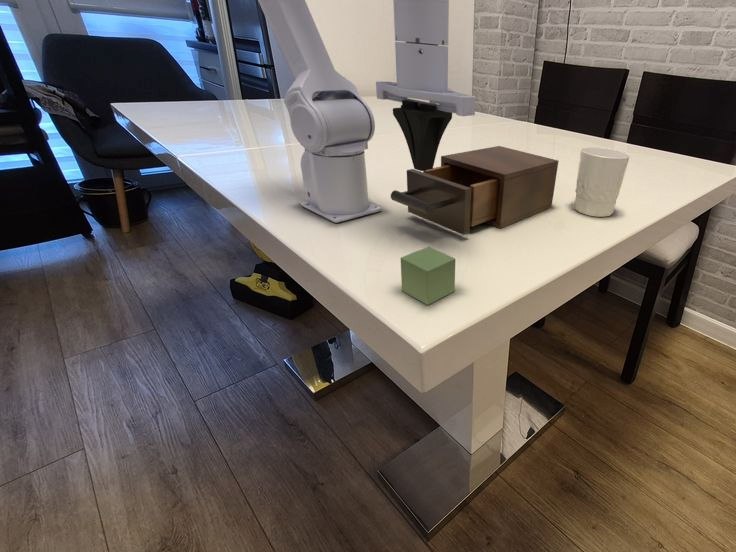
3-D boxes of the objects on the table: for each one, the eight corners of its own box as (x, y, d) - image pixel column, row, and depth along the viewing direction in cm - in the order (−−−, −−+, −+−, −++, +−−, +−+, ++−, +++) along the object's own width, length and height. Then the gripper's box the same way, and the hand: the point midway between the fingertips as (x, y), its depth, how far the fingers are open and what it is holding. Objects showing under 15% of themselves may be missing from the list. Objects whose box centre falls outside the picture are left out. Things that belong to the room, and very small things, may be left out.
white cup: (624, 213, 71) (638, 155, 66) (599, 222, 66) (612, 160, 61) (588, 200, 76) (598, 145, 71) (561, 207, 71) (571, 149, 66)
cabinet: (500, 228, 60) (504, 174, 56) (440, 206, 67) (440, 156, 62) (551, 207, 70) (558, 160, 66) (495, 189, 77) (499, 145, 73)
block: (401, 290, 43) (400, 257, 41) (429, 278, 46) (429, 246, 44) (427, 305, 41) (427, 271, 39) (454, 291, 44) (455, 258, 42)
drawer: (438, 244, 51) (438, 197, 48) (382, 219, 57) (379, 175, 54) (521, 212, 64) (525, 173, 61) (468, 194, 70) (469, 157, 67)
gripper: (496, 50, 43) (488, 176, 50) (406, 42, 51) (409, 153, 57) (450, 46, 38) (448, 187, 45) (357, 38, 46) (367, 160, 52)
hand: (423, 168), depth 51 cm, fingers closed
